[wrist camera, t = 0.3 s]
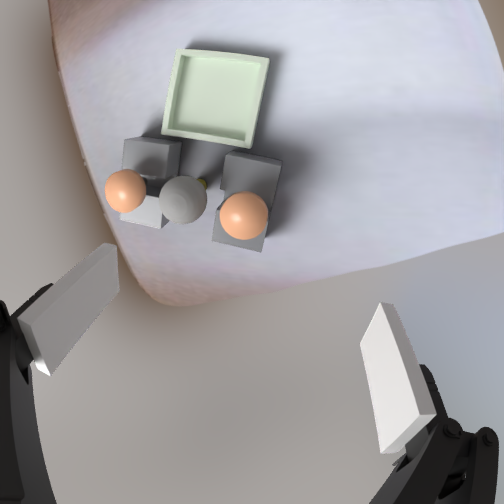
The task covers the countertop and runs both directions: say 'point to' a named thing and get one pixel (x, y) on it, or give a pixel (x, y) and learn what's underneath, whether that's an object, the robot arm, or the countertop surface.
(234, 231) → the orange mushroom knob
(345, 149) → the countertop surface
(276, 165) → the socket housing
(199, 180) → the light bulb
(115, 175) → the plunger
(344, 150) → the countertop surface
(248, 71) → the tray
